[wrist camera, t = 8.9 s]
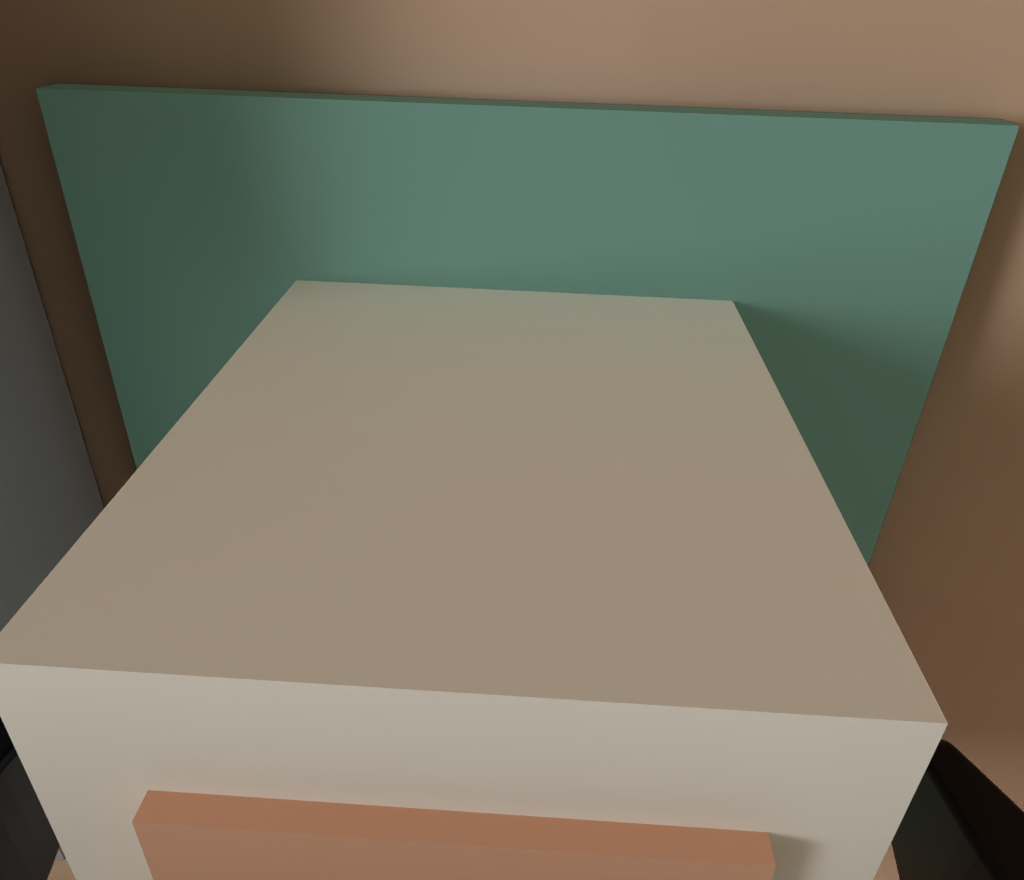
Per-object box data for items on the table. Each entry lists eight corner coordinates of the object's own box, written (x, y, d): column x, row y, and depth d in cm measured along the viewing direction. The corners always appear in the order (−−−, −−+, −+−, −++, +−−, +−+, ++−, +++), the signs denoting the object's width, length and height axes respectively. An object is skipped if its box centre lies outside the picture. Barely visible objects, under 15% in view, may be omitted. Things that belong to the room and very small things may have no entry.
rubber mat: (232, 781, 15) (225, 800, 14) (56, 83, 8) (35, 88, 8) (770, 816, 14) (775, 837, 14) (999, 119, 8) (1019, 126, 8)
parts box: (350, 735, 13) (217, 1224, 8) (296, 280, 9) (-49, 693, 4) (647, 754, 13) (704, 1264, 8) (732, 300, 9) (965, 758, 4)
